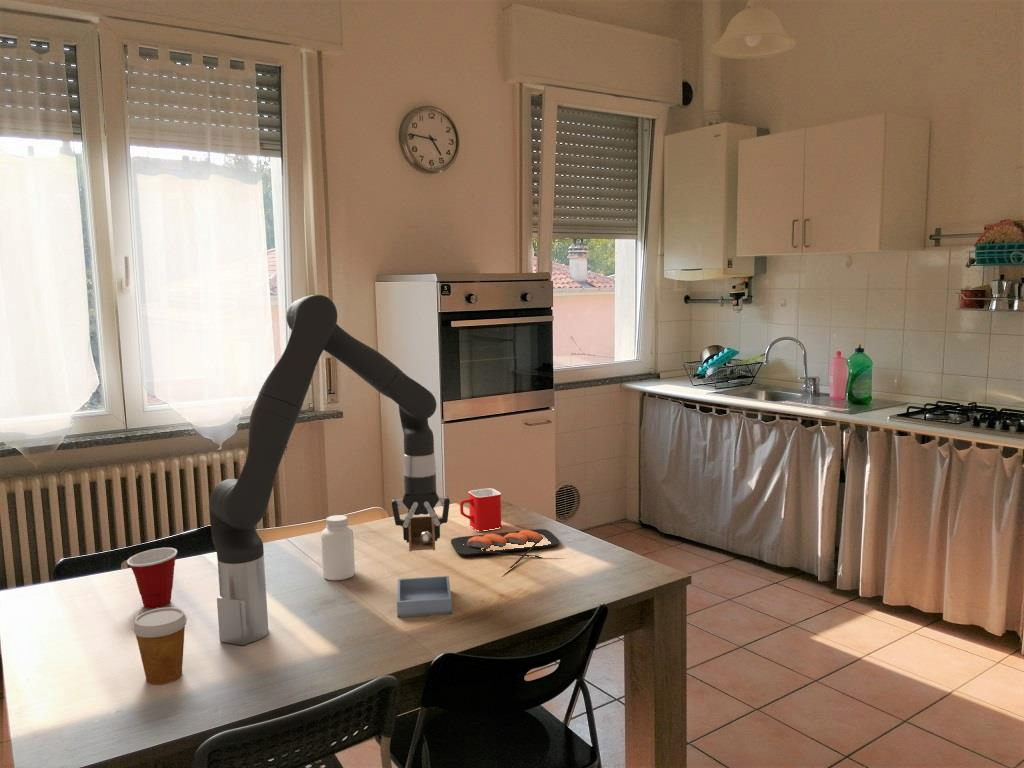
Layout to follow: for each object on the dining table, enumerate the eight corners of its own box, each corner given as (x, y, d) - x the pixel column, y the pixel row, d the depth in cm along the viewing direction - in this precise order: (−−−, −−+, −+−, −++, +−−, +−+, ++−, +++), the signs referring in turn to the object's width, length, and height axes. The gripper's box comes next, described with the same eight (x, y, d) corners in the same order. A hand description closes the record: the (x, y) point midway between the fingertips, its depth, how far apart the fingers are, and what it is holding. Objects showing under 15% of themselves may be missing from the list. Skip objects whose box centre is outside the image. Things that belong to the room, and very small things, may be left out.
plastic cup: (133, 598, 194) (129, 549, 193) (182, 592, 197) (179, 544, 196) (127, 616, 184) (123, 565, 182) (179, 609, 187) (175, 559, 186)
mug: (492, 521, 249) (491, 487, 247) (504, 529, 242) (503, 494, 240) (455, 527, 244) (454, 493, 242) (466, 535, 236) (465, 499, 235)
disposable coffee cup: (198, 663, 161) (193, 605, 159) (180, 688, 151) (175, 626, 150) (149, 665, 160) (144, 607, 159) (128, 690, 151) (122, 628, 149)
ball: (429, 532, 196) (425, 544, 195) (419, 528, 194) (415, 541, 193) (436, 534, 193) (432, 546, 193) (426, 530, 192) (422, 543, 191)
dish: (398, 593, 195) (397, 579, 194) (448, 589, 196) (448, 575, 196) (397, 617, 181) (396, 602, 180) (452, 613, 182) (451, 598, 182)
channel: (409, 539, 199) (408, 517, 199) (434, 537, 200) (433, 516, 199) (409, 551, 191) (408, 528, 190) (435, 550, 191) (434, 527, 190)
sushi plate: (547, 534, 238) (547, 521, 237) (582, 569, 209) (582, 555, 209) (448, 544, 230) (448, 531, 230) (471, 582, 202) (470, 567, 201)
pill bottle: (359, 570, 210) (356, 513, 208) (349, 581, 202) (347, 523, 200) (329, 569, 211) (326, 513, 209) (318, 581, 203) (315, 522, 201)
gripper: (388, 477, 188) (391, 547, 191) (451, 474, 190) (453, 544, 192) (389, 469, 196) (391, 537, 198) (449, 466, 198) (451, 534, 200)
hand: (422, 540), depth 195 cm, fingers closed on channel, 6 cm apart
